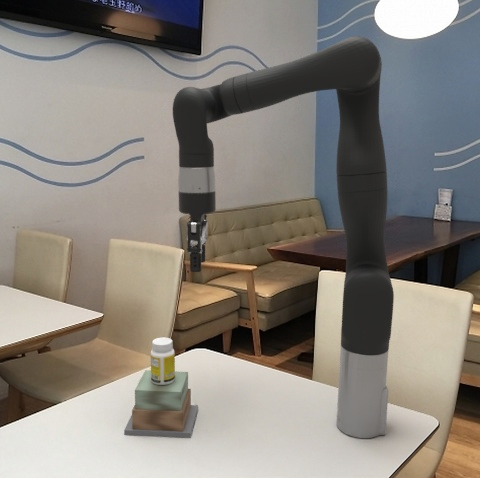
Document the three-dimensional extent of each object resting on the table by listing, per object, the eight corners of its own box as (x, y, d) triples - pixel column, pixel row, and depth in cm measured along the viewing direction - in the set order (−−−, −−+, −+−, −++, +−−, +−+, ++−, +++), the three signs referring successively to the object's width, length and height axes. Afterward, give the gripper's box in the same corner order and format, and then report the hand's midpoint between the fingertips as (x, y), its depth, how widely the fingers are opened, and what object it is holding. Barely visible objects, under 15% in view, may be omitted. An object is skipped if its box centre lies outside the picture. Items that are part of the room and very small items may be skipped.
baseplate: (198, 409, 116) (198, 405, 116) (190, 437, 105) (190, 433, 105) (138, 407, 117) (137, 402, 116) (124, 434, 106) (124, 430, 106)
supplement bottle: (175, 375, 112) (175, 336, 110) (174, 385, 107) (173, 345, 105) (152, 375, 111) (151, 336, 110) (149, 385, 107) (149, 345, 105)
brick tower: (190, 406, 115) (190, 370, 114) (183, 431, 106) (183, 393, 104) (144, 404, 116) (143, 369, 114) (132, 429, 106) (131, 391, 105)
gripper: (212, 193, 103) (213, 275, 107) (217, 186, 117) (218, 259, 121) (173, 192, 104) (175, 275, 107) (183, 186, 118) (184, 259, 121)
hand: (198, 266), depth 114 cm, fingers open, 8 cm apart
